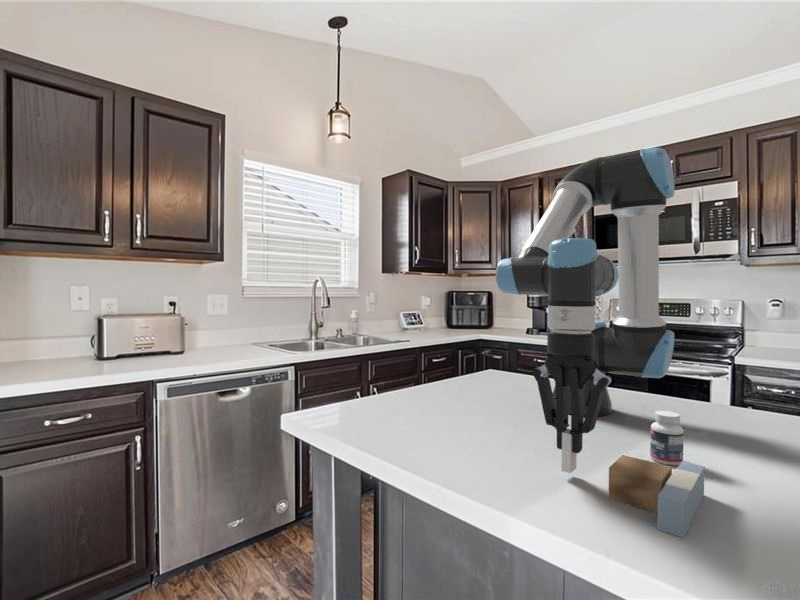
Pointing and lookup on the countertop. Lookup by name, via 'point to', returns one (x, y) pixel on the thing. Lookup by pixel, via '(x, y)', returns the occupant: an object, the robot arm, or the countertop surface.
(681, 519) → the blue and cream block
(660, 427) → the pill bottle
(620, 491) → the walnut block
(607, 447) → the countertop surface
